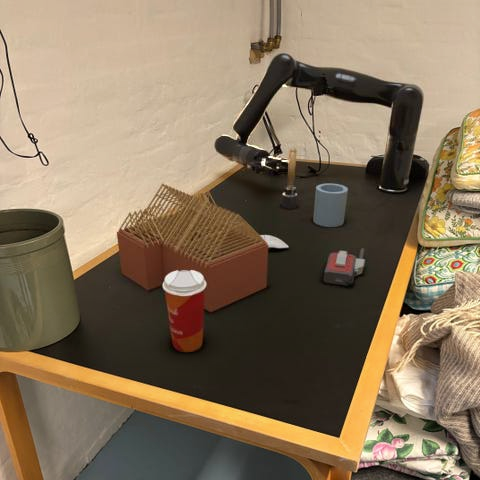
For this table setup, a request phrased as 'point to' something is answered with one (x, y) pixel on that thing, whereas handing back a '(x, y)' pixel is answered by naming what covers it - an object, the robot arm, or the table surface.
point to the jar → (330, 205)
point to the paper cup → (185, 308)
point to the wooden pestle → (290, 183)
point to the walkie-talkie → (343, 268)
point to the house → (194, 248)
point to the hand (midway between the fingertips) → (283, 170)
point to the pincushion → (273, 241)
